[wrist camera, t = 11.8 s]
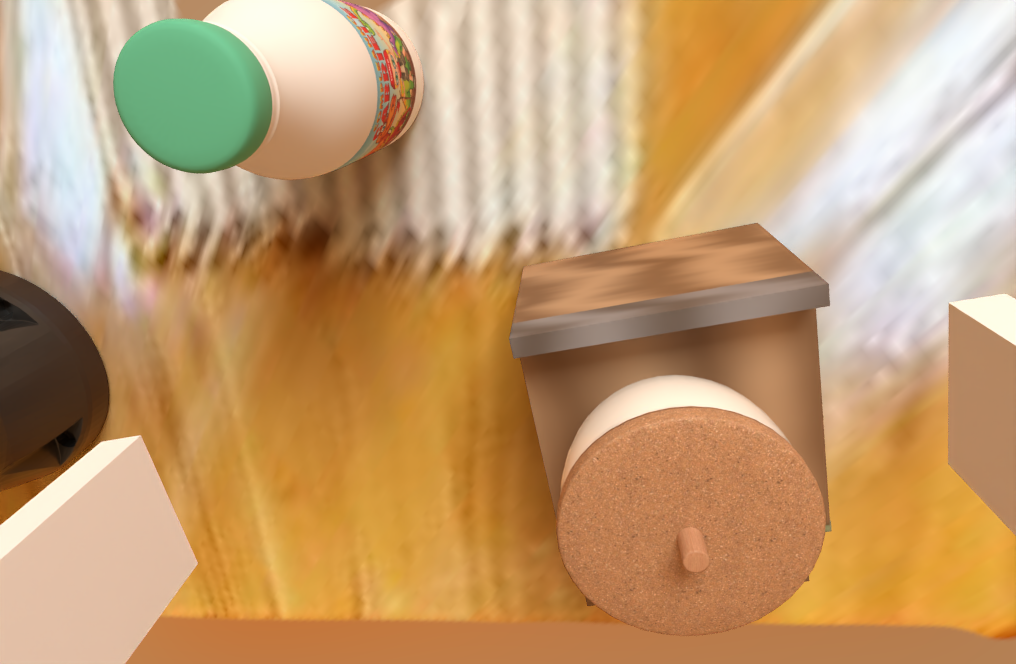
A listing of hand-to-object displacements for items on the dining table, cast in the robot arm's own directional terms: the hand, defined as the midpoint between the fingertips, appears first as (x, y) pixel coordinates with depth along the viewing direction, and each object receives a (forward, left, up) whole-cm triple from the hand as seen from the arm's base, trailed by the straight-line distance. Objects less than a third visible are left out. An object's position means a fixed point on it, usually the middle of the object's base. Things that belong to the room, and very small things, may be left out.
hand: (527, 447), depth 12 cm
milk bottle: (-10, +7, -32) cm, 34 cm away
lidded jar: (+3, -13, -22) cm, 26 cm away
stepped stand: (+4, -17, -32) cm, 36 cm away
